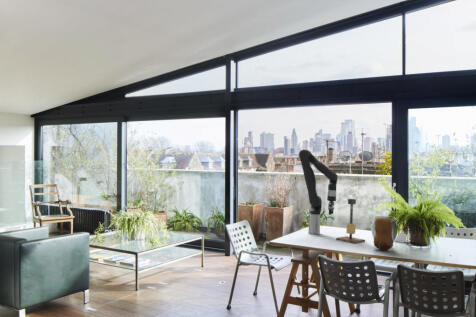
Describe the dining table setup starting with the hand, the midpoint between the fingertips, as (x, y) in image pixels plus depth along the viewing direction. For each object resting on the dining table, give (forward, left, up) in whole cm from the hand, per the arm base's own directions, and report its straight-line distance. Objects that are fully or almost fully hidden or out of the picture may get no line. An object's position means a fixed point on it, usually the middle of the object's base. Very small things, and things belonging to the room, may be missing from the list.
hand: (330, 214), depth 364 cm
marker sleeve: (+21, -12, -12) cm, 27 cm away
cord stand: (+21, -12, -18) cm, 30 cm away
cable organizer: (+58, +13, -19) cm, 62 cm away
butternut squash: (+50, -33, -19) cm, 62 cm away
